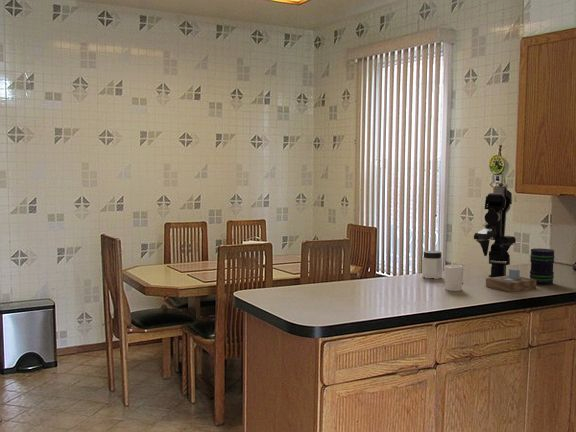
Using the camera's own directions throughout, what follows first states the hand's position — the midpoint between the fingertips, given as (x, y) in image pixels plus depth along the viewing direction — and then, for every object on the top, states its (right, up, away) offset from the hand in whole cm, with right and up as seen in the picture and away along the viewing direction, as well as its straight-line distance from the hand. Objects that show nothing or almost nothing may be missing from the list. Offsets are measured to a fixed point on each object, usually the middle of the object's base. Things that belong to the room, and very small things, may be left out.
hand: (493, 257), depth 275 cm
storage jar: (+22, -12, +2) cm, 25 cm away
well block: (+5, -12, -7) cm, 15 cm away
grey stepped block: (+5, -12, -7) cm, 14 cm away
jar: (-23, -11, +17) cm, 31 cm away
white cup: (-21, -13, -11) cm, 27 cm away
